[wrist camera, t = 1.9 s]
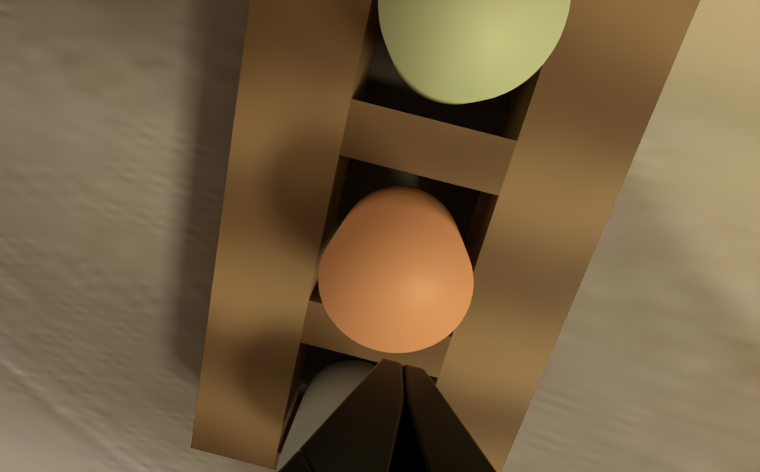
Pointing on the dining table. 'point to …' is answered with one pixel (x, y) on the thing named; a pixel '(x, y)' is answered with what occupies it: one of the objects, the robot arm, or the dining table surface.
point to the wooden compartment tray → (428, 159)
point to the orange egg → (396, 272)
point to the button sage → (469, 44)
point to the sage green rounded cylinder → (322, 401)
